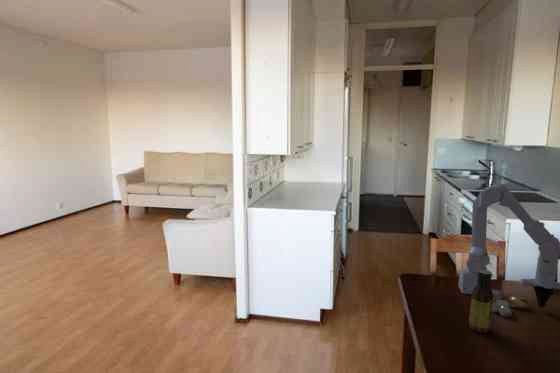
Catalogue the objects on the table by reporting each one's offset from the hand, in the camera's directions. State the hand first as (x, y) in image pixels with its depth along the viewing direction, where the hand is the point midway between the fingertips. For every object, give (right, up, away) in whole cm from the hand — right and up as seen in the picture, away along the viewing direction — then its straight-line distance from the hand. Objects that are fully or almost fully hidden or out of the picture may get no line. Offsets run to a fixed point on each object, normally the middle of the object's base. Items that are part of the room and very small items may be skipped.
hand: (540, 305), depth 138 cm
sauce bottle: (-29, -4, -12) cm, 32 cm away
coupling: (-7, -1, +2) cm, 8 cm away
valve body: (-15, -1, +2) cm, 15 cm away
